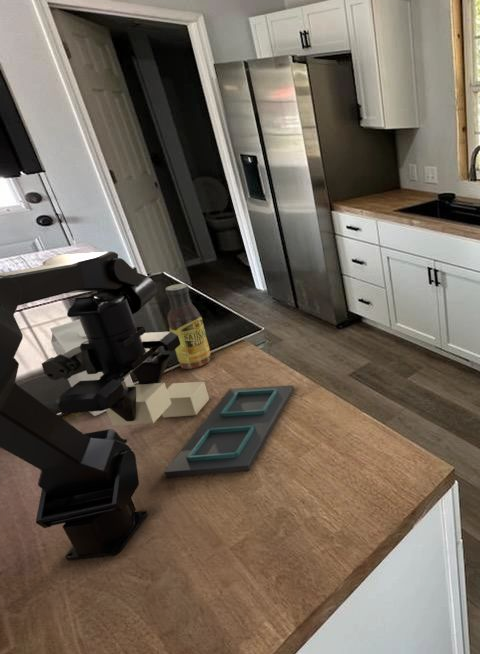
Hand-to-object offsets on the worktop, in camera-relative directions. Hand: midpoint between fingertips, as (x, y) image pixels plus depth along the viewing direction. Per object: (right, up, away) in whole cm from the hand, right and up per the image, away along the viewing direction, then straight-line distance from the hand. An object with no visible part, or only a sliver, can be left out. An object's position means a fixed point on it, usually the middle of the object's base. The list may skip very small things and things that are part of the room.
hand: (141, 409), depth 70 cm
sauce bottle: (-13, +1, +29) cm, 32 cm away
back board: (+10, -7, +10) cm, 15 cm away
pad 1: (0, -1, 0) cm, 1 cm away
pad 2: (-4, -5, +14) cm, 15 cm away
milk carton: (-21, -4, +16) cm, 27 cm away
